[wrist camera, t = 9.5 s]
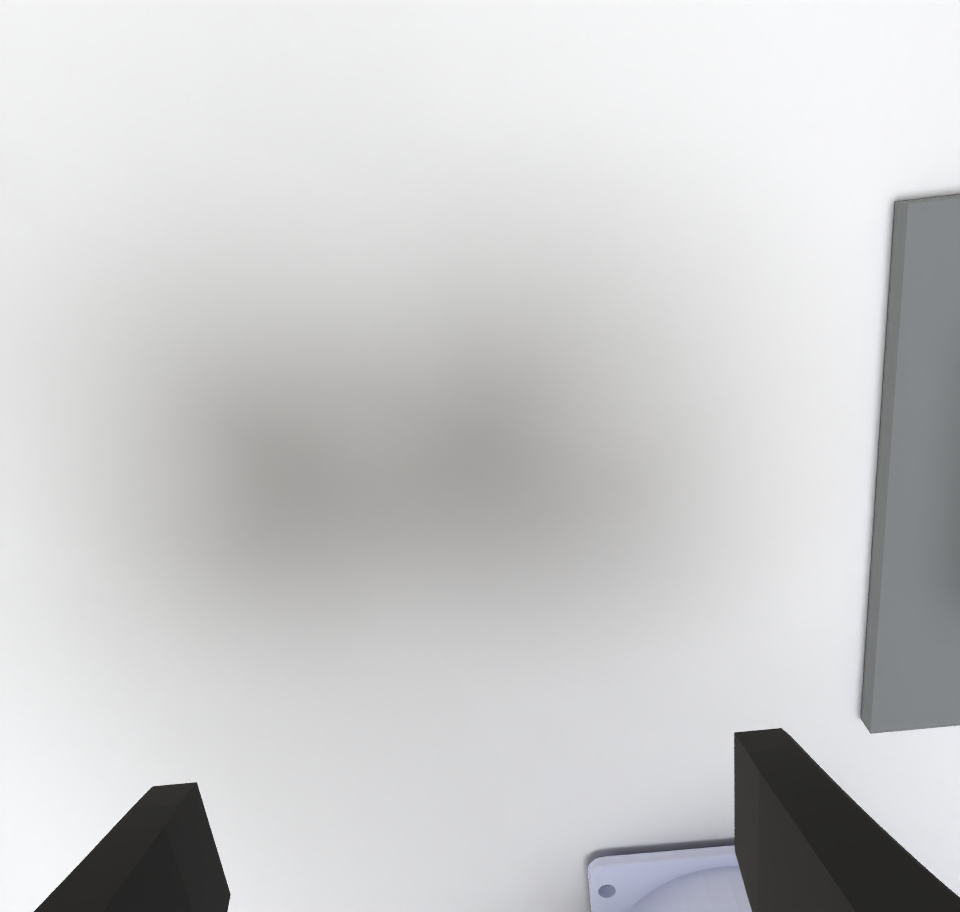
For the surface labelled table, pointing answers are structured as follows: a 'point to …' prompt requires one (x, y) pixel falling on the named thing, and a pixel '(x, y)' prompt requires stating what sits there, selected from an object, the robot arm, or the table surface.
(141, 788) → the table surface
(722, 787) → the table surface
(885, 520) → the charcoal mat
